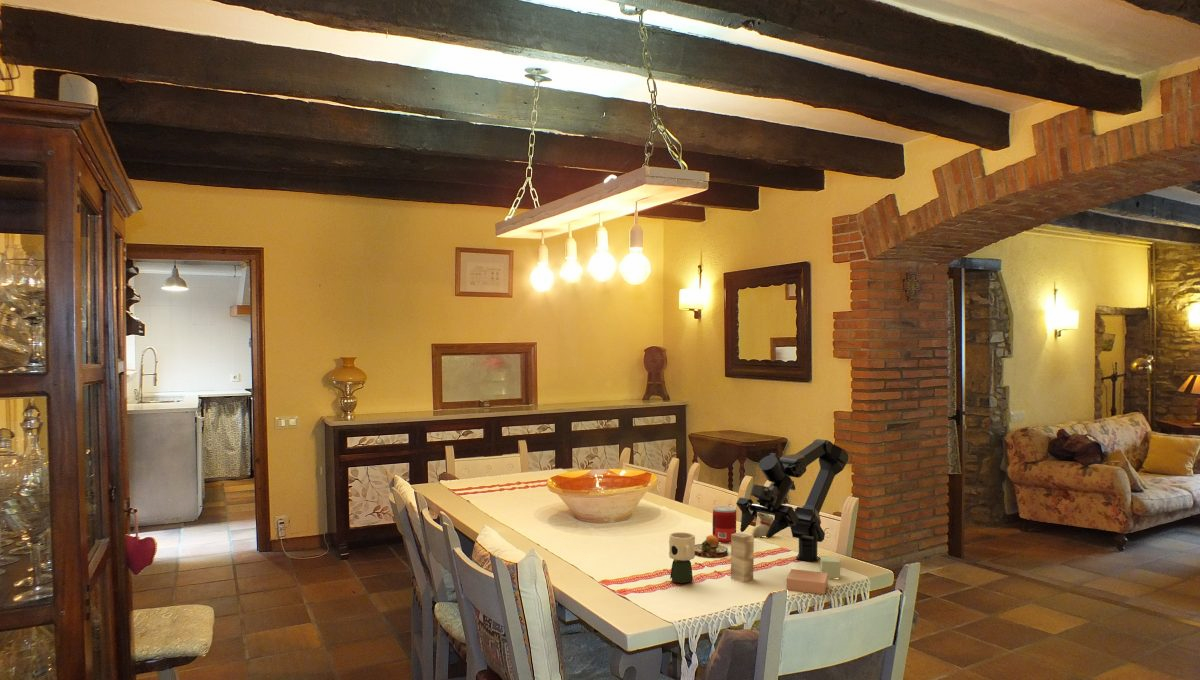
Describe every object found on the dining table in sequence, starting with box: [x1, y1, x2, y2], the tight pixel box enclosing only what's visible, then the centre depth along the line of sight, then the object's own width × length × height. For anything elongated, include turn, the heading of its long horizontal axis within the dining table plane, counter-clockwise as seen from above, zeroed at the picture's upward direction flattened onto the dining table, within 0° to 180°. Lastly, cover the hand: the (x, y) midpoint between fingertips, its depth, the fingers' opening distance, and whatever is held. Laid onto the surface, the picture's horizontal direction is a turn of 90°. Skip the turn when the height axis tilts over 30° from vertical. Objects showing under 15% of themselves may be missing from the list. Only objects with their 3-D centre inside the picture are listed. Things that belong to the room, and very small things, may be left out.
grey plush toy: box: [751, 512, 774, 538], centre depth 267 cm, size 6×8×10 cm
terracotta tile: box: [785, 568, 829, 595], centre depth 209 cm, size 10×10×3 cm
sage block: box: [819, 556, 841, 579], centre depth 219 cm, size 5×5×5 cm
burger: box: [695, 534, 729, 559], centre depth 243 cm, size 12×12×8 cm
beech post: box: [730, 531, 755, 583], centre depth 215 cm, size 4×4×12 cm
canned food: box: [712, 505, 737, 544], centre depth 260 cm, size 8×8×11 cm
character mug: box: [668, 531, 696, 584], centre depth 212 cm, size 11×7×13 cm, turn 14°
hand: (754, 534), depth 219 cm, fingers open, 9 cm apart
